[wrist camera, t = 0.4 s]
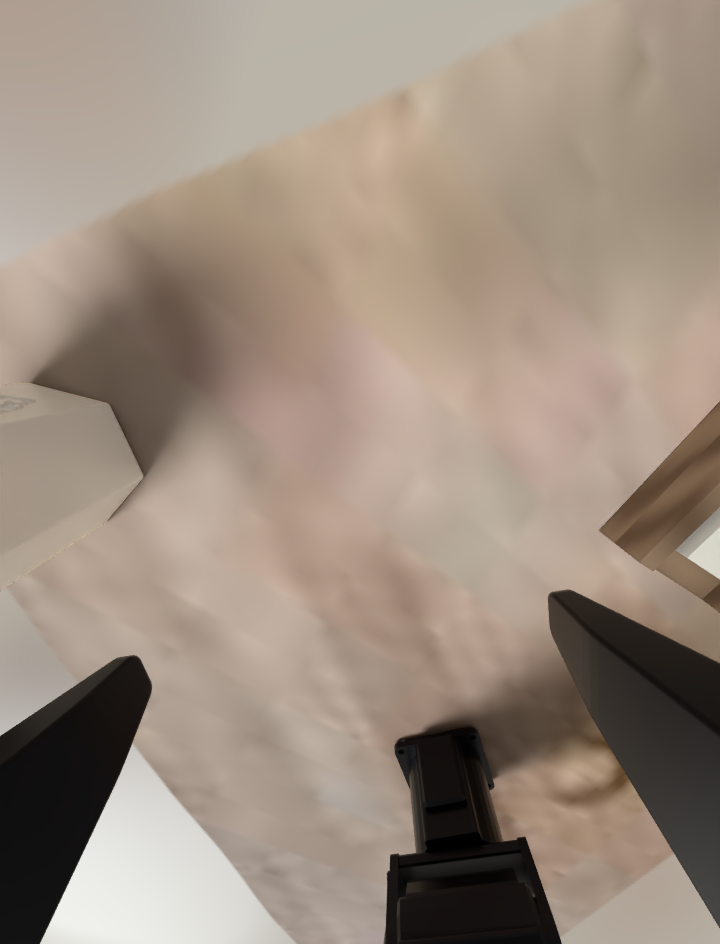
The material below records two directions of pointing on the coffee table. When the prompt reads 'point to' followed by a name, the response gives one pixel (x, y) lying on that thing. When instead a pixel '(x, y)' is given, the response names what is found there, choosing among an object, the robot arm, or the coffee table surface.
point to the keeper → (705, 545)
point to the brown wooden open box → (675, 511)
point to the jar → (56, 473)
